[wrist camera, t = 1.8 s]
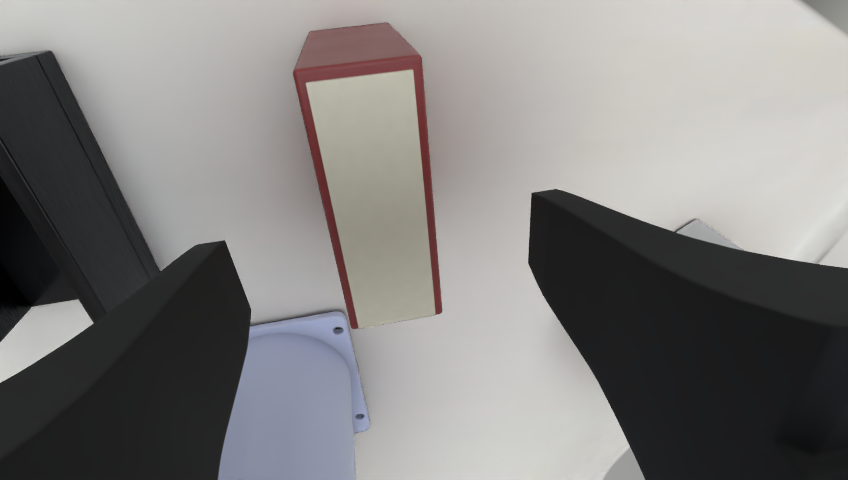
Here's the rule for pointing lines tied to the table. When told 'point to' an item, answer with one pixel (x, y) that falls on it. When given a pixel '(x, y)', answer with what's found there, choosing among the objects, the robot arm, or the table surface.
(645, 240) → the robot arm
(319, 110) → the book
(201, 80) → the table surface
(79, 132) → the rack
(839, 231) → the table surface
